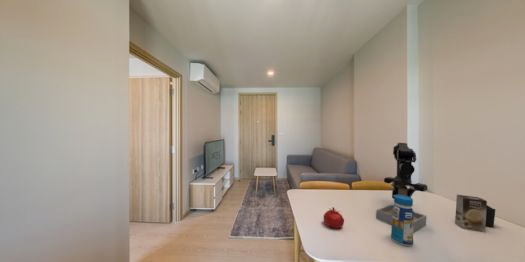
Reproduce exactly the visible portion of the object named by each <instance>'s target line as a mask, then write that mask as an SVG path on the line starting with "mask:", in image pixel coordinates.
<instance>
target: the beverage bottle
mask: <svg viewBox="0 0 525 262" xmlns="http://www.w3.org/2000/svg"><path fill="white" fill-rule="evenodd" d="M393 203H395V205H394V204H393V205H394V206H393V207H392V214H391V217H392V225H391V230H390V231H391V232H390V239H391V240H392V241H393V242H395V243H397V245H402V246H406V247H411V246H413V245H414V233H413V230H414V223H415V220H414V218H413V217H414V212H415V211H414V210H413V208H412V207H413V205H414V200H413V198H412V196H411V197H408V196H404V195H395V196H394V199H393Z"/></svg>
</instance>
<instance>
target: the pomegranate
mask: <svg viewBox="0 0 525 262" xmlns="http://www.w3.org/2000/svg"><path fill="white" fill-rule="evenodd" d="M323 222H324V224H325V225H326V226H328V227H329V228H332V229H340V228H342V227H343V226H344V223H345V218H344V217H343V215H342V214H341V211H339V210H337V209H335V207H332V208H329V209H328V210H327V211H325V213H324V214H323Z"/></svg>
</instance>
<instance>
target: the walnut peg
mask: <svg viewBox="0 0 525 262" xmlns="http://www.w3.org/2000/svg"><path fill="white" fill-rule="evenodd" d="M398 195H404V196H408V188H407V189H405V188H399V189H398Z"/></svg>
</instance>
